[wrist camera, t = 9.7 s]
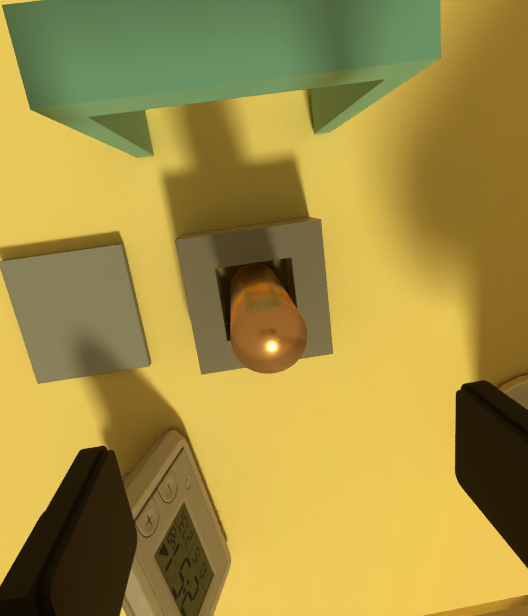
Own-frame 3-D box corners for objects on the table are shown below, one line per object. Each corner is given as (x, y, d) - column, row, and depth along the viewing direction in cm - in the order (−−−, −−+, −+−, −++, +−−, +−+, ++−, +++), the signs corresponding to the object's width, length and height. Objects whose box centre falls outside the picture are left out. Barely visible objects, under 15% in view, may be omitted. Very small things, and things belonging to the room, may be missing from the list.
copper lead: (282, 307, 32) (311, 367, 21) (234, 314, 32) (237, 378, 21) (276, 260, 31) (303, 295, 20) (226, 267, 31) (224, 307, 20)
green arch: (330, 132, 29) (440, 57, 14) (137, 157, 28) (30, 109, 13) (326, 86, 28) (439, -45, 13) (127, 112, 27) (2, 5, 12)
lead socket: (321, 335, 33) (333, 353, 30) (204, 354, 33) (201, 374, 29) (309, 216, 31) (320, 219, 27) (182, 235, 30) (175, 240, 26)
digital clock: (232, 562, 39) (233, 689, 29) (141, 573, 39) (109, 708, 28) (216, 419, 35) (210, 510, 25) (113, 430, 34) (63, 528, 24)
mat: (151, 362, 33) (149, 366, 32) (42, 379, 32) (37, 383, 32) (123, 243, 30) (120, 244, 29) (4, 260, 30) (-2, 261, 29)
